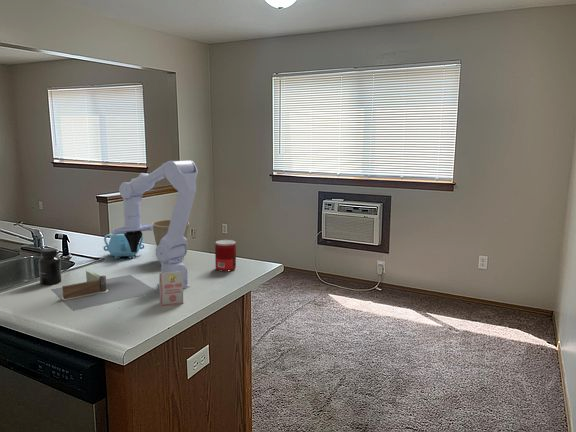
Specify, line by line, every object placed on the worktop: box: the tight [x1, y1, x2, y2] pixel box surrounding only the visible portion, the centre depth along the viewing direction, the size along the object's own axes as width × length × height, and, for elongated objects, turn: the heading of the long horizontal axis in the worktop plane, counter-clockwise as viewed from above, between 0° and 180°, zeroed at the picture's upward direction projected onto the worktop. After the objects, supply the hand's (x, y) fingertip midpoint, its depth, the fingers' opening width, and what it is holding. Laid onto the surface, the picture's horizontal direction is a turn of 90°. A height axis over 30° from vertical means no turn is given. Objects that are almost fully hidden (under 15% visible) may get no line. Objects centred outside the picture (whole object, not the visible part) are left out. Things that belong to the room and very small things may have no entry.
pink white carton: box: [158, 271, 184, 307], centre depth 144 cm, size 4×7×10 cm, turn 112°
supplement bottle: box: [38, 247, 62, 286], centre depth 160 cm, size 7×7×12 cm
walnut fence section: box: [61, 275, 107, 299], centre depth 149 cm, size 2×13×5 cm, turn 131°
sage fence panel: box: [85, 269, 100, 283], centre depth 158 cm, size 1×11×4 cm, turn 45°
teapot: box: [103, 233, 145, 260], centre depth 197 cm, size 20×17×12 cm
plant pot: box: [151, 219, 190, 247], centre depth 192 cm, size 15×15×16 cm
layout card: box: [50, 274, 159, 311], centre depth 154 cm, size 25×27×1 cm
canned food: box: [214, 239, 237, 272], centre depth 181 cm, size 8×8×11 cm
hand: (133, 251), depth 169 cm, fingers closed
